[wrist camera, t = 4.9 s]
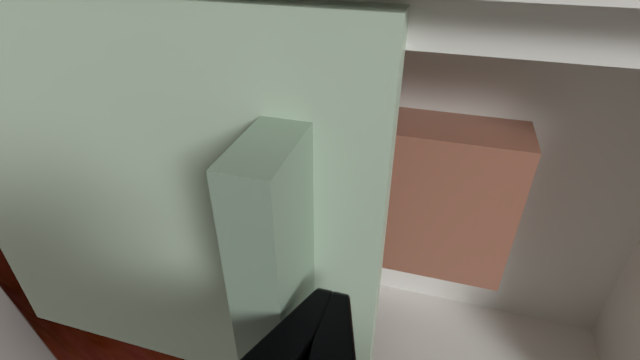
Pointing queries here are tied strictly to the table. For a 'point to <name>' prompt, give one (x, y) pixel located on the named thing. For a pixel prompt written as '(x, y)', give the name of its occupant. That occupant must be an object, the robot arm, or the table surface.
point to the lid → (197, 163)
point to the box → (515, 184)
